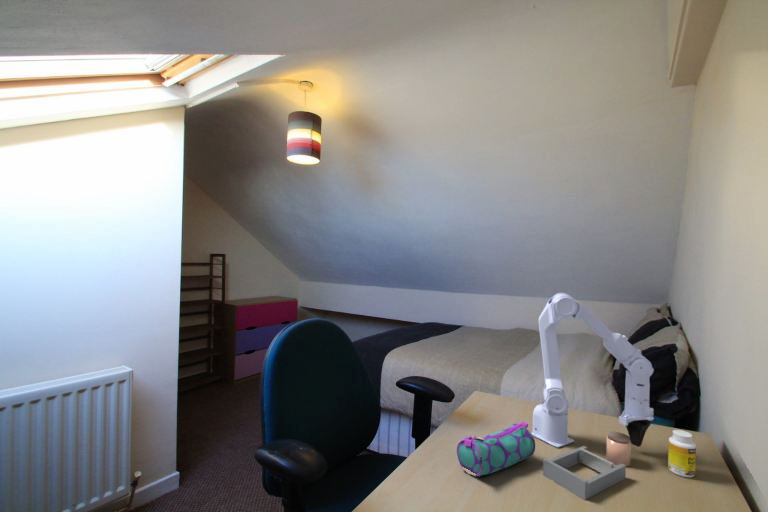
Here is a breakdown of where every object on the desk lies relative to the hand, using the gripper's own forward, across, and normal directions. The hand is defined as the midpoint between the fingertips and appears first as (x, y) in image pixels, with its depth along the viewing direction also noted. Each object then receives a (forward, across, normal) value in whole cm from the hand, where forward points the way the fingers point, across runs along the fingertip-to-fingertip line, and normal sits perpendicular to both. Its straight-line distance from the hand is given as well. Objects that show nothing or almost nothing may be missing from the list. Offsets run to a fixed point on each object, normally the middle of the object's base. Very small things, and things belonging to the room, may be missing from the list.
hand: (636, 444), depth 108 cm
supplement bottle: (+2, 0, -11) cm, 11 cm away
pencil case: (+3, -40, +14) cm, 43 cm away
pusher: (+2, -19, 0) cm, 20 cm away
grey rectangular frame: (+2, -24, 0) cm, 24 cm away
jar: (+2, -9, 0) cm, 9 cm away
